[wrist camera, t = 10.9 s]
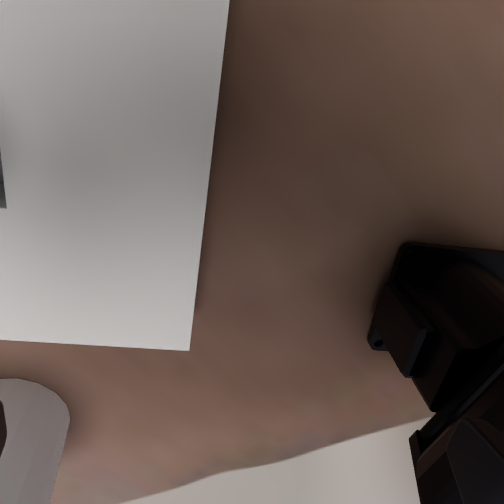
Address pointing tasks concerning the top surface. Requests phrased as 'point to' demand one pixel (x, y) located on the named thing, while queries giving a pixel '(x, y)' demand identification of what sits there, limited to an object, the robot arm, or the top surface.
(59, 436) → the white cup
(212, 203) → the top surface
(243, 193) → the top surface
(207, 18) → the bore board
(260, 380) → the top surface
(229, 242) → the top surface
